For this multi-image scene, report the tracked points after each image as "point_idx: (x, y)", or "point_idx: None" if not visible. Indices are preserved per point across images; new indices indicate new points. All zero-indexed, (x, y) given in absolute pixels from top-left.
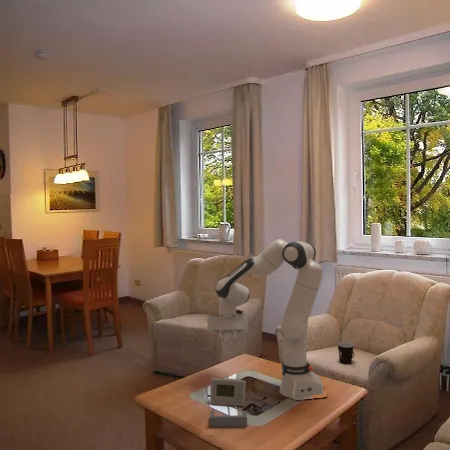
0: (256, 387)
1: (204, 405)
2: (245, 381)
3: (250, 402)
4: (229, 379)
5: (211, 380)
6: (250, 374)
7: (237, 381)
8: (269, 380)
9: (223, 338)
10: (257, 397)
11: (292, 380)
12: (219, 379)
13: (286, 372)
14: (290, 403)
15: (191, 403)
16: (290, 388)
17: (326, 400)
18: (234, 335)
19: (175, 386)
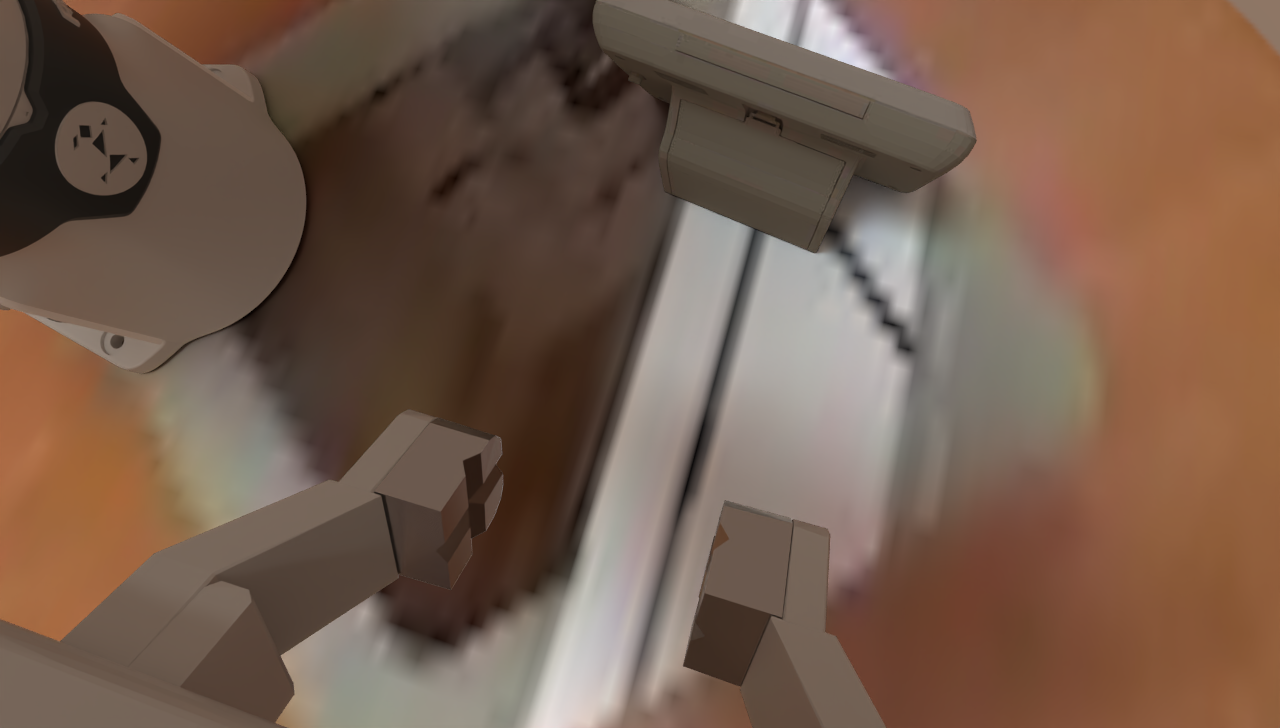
0: (441, 384)
1: (980, 164)
2: (596, 1)
3: (587, 132)
4: (764, 56)
5: (974, 135)
6: (384, 694)
7: (684, 7)
8: (276, 495)
9: (752, 510)
10: (503, 201)
11: (136, 38)
12: (884, 83)
13: (107, 51)
14: (312, 55)
15: (1095, 226)
16: (214, 90)
17: None
18: (327, 482)
19: (1240, 649)
